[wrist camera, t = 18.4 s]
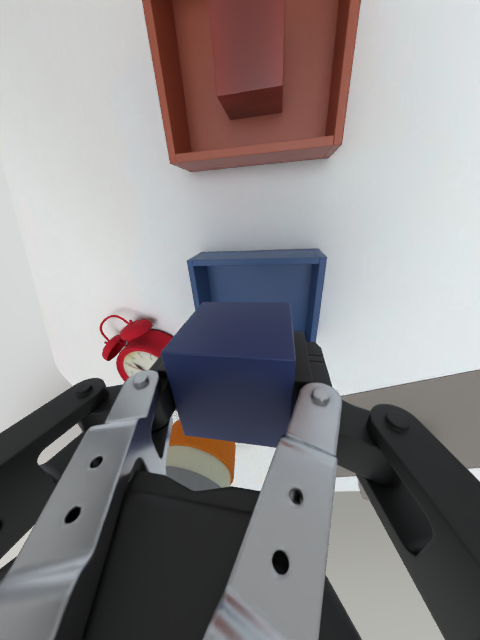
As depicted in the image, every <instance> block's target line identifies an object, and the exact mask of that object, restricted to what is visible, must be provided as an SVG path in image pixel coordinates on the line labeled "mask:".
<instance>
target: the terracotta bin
mask: <svg viewBox="0 0 480 640" xmlns="http://www.w3.org/2000/svg"><path fill="white" fill-rule="evenodd" d="M142 3H143V8H144V14H145V20H146V26H147V32H148V38H149V43H150V49H151V55H152V61H153V67H154V72H155V78H156V84H157V90H158V96H159V101H160V107H161V113H162V119H163V125H164V131H165V136H166V142H167V148H168V154H169V160H170V164H173V165H175V166H178V167H180V168H183V169H185V170H188V171H190V172H194V171H204V170H213V169H223V168H233V167H243V166H253V165H263V164H272V163H282V162H292V161H302V160H312V159H322V158H329V157H330V156H331V155H332V154H333V153H334V152H335V151H336V150H337V149H338V148H339V147H340V146H341V144H342V139H343V131H344V124H345V116H346V109H347V101H348V94H349V86H350V78H351V71H352V63H353V56H354V48H355V40H356V33H357V25H358V18H359V10H360V3H361V0H285V32H284V71H283V109H282V113H276V114H269V115H262V116H255V117H248V118H241V119H235V120H230V119H229V117H228V115H227V114H226V112H225V110H224V108H223V107H222V105H221V103H220V101H219V100H218V98H217V96H216V83H215V71H214V58H213V46H212V33H211V21H210V8H209V0H142Z"/></svg>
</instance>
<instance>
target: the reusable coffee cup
mask: <svg viewBox="0 0 480 640" xmlns="http://www.w3.org/2000/svg"><path fill="white" fill-rule="evenodd" d="M234 464H235V442H231V441H223V440H216V439H208V438H201V437H193V436H186V435H184V432H183V429H182V425H181V422H180V419H179V420H178V421H176V422H175V423H174V424H173V425H172V430H171V436H170V442H169V448H168V454H167V460H166V476H168V477H170V478H171V479H173V480H175V481H176V482H178V483H180V484H182V485H183V486H185V487H187V488H189V489H190V490H193V491H202V490H209V489H216V488H223V487H230V485H231V483H232V482H233V479H234Z"/></svg>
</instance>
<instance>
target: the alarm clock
mask: <svg viewBox="0 0 480 640" xmlns="http://www.w3.org/2000/svg"><path fill="white" fill-rule="evenodd" d="M111 317H117V318H119V319H121V320H123V321H124V322H126V323H127V324H128V325H127V326H126V327H124V328H123V329H122V331H121V333H120V334H119V335H116V336H114V337H113V338H112V339H111V340H109V339H108V338H107V337H106V336H105V335H104V333H103V331H102V325H103V323H104V322H105V321H106V320H107V319H108V318H111ZM129 322H130V323H129ZM129 322H127V321H126V320H125V319H123V318H122V317H120V316H117V315H111V316H108V317H107V318H105V319H104V320H103V321H102V323H101V324H100V332H101V334H102V335H103V336H104V337H105V339H106V340H107V341H108V342H105V344H106V345H105V347H104V349H103V352H102V356H103V358H104V359H105V360H107V361H110V360H111V359H113V358H114V357H115V356H116V355H117V354H118V353H119V352H120V351H121V349H122V348H123V347H124V346H126V347H125V348H124V349H123V350H122V351H121V352H120V353H119V355H118V357H117V361H116V365H117V370H118V372H119V374H120V376H121V378H122V379H123V380H124V381H126V380H127V379H128V378H129V377H130V376H132V375H133V374H135V373H137V372H140V371H144V370H149V369H150V368H151V366H152V365H153V364H154V363H155V361H156V360H157V359H158V358H159V357H160V355H161V351H162V350H163V349H164V348H165V346H166V345H167V344H168V343H169V342H170V341H171V339H172V338H173V337H171V336H170V335H168V334H166V333H163V332H160V331H157V330H149V329H150V328H151V327H152V326H153V325H152V323H151V322H150V321H149V320H147V319H141V320H137V321H134V322H132V320H129ZM126 341H128V343H127V345H126V344H125V343H126Z"/></svg>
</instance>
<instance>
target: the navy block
mask: <svg viewBox="0 0 480 640" xmlns="http://www.w3.org/2000/svg"><path fill="white" fill-rule="evenodd" d="M161 356H162V359H163V363H164V366H165V370H166V373H167V377H168V380H169V384H170V387H171V391H172V394H173V397H174V401H175V404H176V408H177V411H178V415H179V418H180V422H181V425H182V429H183V432H184V435H186V436H193V437H201V438H208V439H216V440H223V441H231V442H238V443H246V444H253V445H261V446H268V447H276V448H277V445H278V442H279V440H280V438H281V436H282V435H285V433H286V431H287V428H288V425H289V422H290V419H291V416H292V405H293V393H294V380H295V367H296V356H295V346H294V335H293V325H292V315H291V305H290V303H273V302H202V304H201V305H200V306H199V307H198V308H197V310H196V311H195V312H194V313H193V314H192V316H191V317H190V318H189V319H188V320H187V321H186V323H185V324H184V325H183V326H182V327H181V329H180V330H179V331H178V332H177V333H176V335H175V336H174V337H173V338H172V339H171V341H170V342H169V343H168V344H167V345H166V346H165V348H164V349H163V350H162V351H161Z"/></svg>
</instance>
